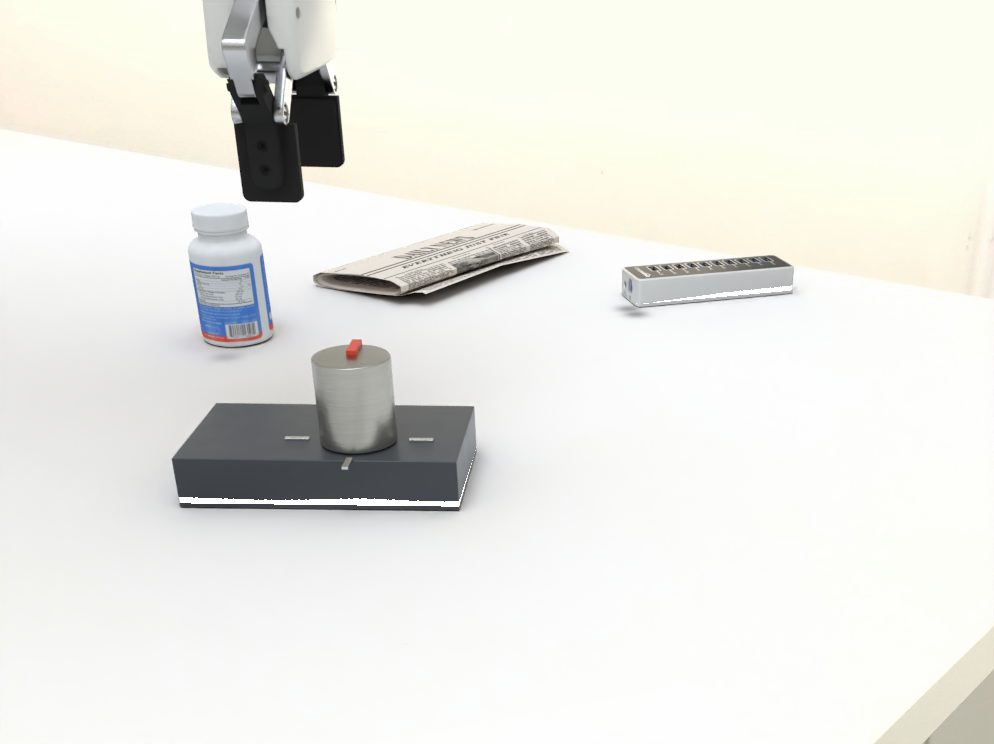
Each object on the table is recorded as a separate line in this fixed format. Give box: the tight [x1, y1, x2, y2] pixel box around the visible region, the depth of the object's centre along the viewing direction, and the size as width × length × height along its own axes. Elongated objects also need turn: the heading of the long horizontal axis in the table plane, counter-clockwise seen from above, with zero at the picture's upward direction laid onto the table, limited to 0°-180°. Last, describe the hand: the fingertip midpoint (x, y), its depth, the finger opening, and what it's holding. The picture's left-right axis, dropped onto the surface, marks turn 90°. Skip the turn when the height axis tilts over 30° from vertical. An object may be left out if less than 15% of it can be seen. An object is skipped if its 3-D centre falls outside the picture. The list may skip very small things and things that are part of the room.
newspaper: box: [312, 222, 570, 297], centre depth 121 cm, size 23×12×2 cm, turn 146°
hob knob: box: [310, 338, 398, 454], centre depth 76 cm, size 4×4×5 cm
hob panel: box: [171, 402, 478, 511], centre depth 79 cm, size 16×10×3 cm, turn 90°
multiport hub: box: [621, 254, 795, 308], centre depth 115 cm, size 4×14×2 cm, turn 110°
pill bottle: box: [187, 202, 274, 348], centre depth 101 cm, size 6×5×10 cm
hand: (297, 182), depth 76 cm, fingers open, 9 cm apart
